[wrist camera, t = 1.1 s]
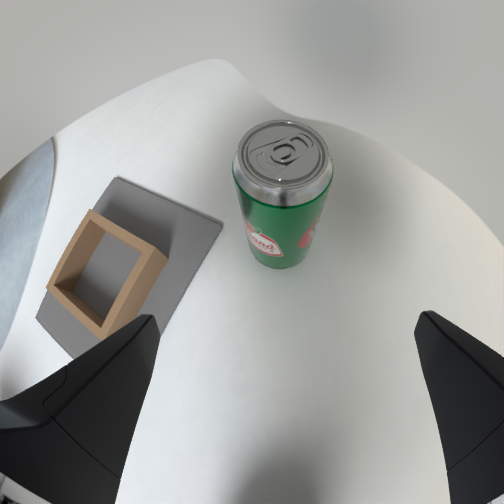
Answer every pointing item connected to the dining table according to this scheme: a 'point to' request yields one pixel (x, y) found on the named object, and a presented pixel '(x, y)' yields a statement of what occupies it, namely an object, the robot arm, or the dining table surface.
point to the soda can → (281, 189)
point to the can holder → (123, 266)
